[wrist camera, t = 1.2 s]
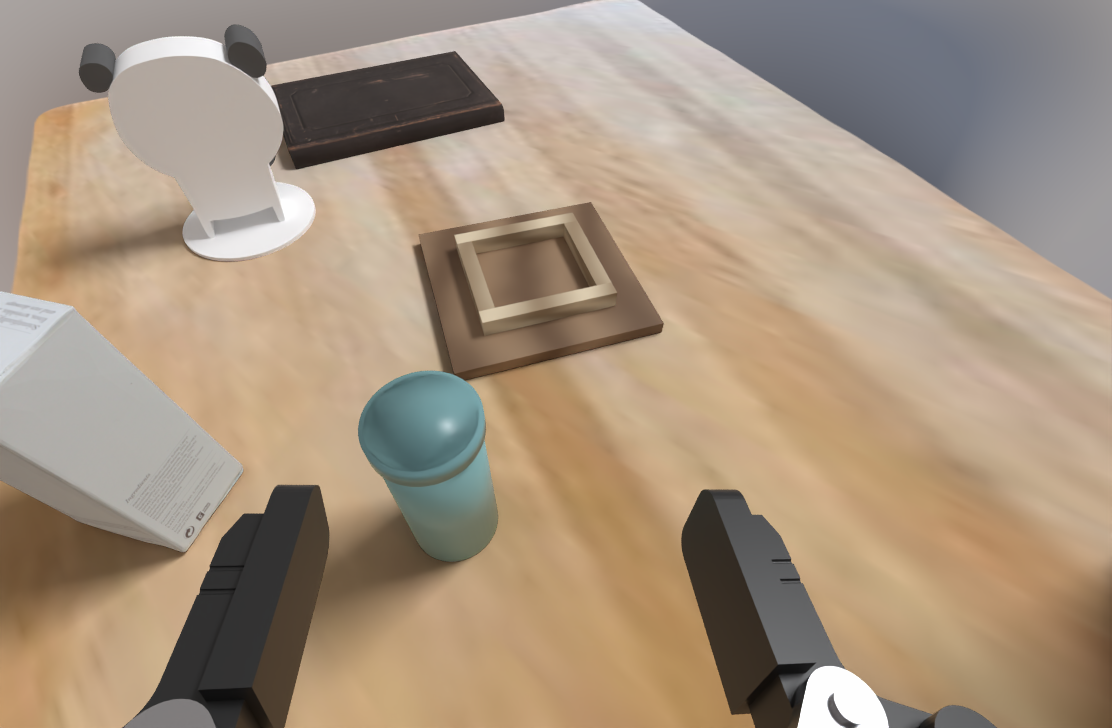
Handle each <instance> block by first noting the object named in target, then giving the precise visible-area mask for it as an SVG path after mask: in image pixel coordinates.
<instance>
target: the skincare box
mask: <svg viewBox="0 0 1112 728" xmlns="http://www.w3.org/2000/svg"><path fill="white" fill-rule="evenodd" d="M242 472H243V466H242V464H241V463H239V462H238V461H237V460H236V459H235V458H234V457H233V456H232V455H231V454H230V453H228V452H227V451H226V450H225V449H224V448H223V447H222V446H221V445H220V444H219V443H218V442H217V441H216V440H214V439H213V438H212V437H211V436H210V435H209V434H208V433H207V432H206V431H205V430H204V429H202V428H201V427H200V426H199V425H198V424H197V423H196V422H195V421H194V420H193V419H192V418H191V417H190V416H189V415H188V414H187V413H186V412H185V411H183V410H182V409H181V408H180V407H179V406H178V405H177V404H176V403H175V402H174V401H173V400H171V399H170V398H169V397H168V396H167V395H166V394H165V393H164V392H163V391H162V390H161V389H159V388H158V387H157V386H156V385H155V384H154V383H153V382H152V381H151V380H150V379H149V378H148V377H146V376H145V375H144V374H143V373H142V372H141V371H140V370H139V369H138V368H137V367H136V366H134V365H133V364H132V363H131V362H130V361H129V360H128V359H127V358H126V357H125V356H124V355H123V354H122V353H120V352H119V351H118V350H117V349H116V348H115V347H114V346H113V345H112V344H111V343H110V342H109V341H108V340H107V339H105V338H104V337H103V336H102V335H101V334H100V333H99V332H98V331H97V330H96V329H95V328H94V327H93V326H92V325H91V324H90V323H89V322H88V321H86V320H85V319H84V318H83V317H82V316H81V315H80V314H79V313H78V312H77V311H76V310H75V308H74V307H72V306H68V305H64V304H60V303H55V302H50V301H45V300H40V299H35V298H30V297H26V296H20V295H15V294H11V293H6V292H1V291H0V480H1V481H3V482H5V483H7V484H8V485H10V486H12V487H14V488H16V489H18V490H20V491H22V492H24V493H26V494H27V495H29V496H31V497H33V498H35V499H37V500H39V501H41V502H43V503H45V504H46V505H48V506H50V507H52V508H54V509H56V510H58V511H60V512H62V513H64V514H65V515H67V516H69V517H71V518H73V519H74V520H76V521H78V522H81V523H84V524H87V525H90V526H93V527H97V528H100V529H103V530H106V531H110V532H113V533H116V534H120V535H123V536H127V537H130V538H133V539H137V540H140V541H144V542H148V543H152V544H157V545H162V546H165V547H168V548H171V549H174V550H177V551H180V552H185V551H187V550H188V548H189V547H190V546H191V544H192V543H193V542H194V540H195V539H196V537H197V536H198V534H199V533H200V531H201V529H202V528H203V526H204V525H205V524H206V522H207V521H208V519H209V518H210V517H211V515H212V514H213V513H214V511H215V510H216V508H217V507H218V506H219V505H220V503H221V502H222V501H223V499H224V498H225V497H226V495H227V494H228V492H229V491H230V490H231V488H232V486H233V485H234V484H235V482H236V481H237V479H238V478H239V477H240V475H241V474H242Z"/></svg>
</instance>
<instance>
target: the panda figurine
mask: <svg viewBox="0 0 1112 728" xmlns="http://www.w3.org/2000/svg"><path fill="white" fill-rule="evenodd" d="M225 44H226V45H224V44H221V43H219V42H217V41H214V40H211V39H207V38H201V37H188V36H177V37H165V38H159V39H154V40H150V41H146V42H143V43H139V44H137V45H134V46H132V47H130V48H128V49H126V50H125V51H124V52H123V53H122V54H121V55H120V56H119V57H118V58H117V60H116V61H115V54H114V52H113V51H112V50H111V49H110V48H109V47H107V46H105V45H103V44H96V43H95V44H89V45H87V46H86V47H85V48H84V50H83V55H82V59H81V64H80V68H79V76H80V78H81V81H82V82H83V84H84V85H85V86H86V87H87V89H89V90H90V91H93V92H97V93H101V92H105V91H107V90H108V89H109V91H108V100H109V107H110V112H111V115H112V119H113V122H114V125H115V127H116V130H117V132H118V134H119V136H120V137H121V139H122V141H123V142H124V144H125V145H126V146H127V147H128V149H129V150H130V151H131V152H132V153H133V154H134V155H135V156H136V157H137V158H139V159H140V160H141V161H142V162H144V163H145V164H146V165H148V166H149V167H151V168H153V169H154V170H156V171H158V172H160V173H163V174H165V175H168V176H171V177H174V178H175V179H176V181H177V183H178V184H179V186H180V188H181V189H182V191H183V192H184V194H185V196H186V197H187V199H188V201H189V202H190V204H191V206H192V207H193V209H194V210H193V211H192V213H191V214H190V215H189V216H188V218H187V219H186V221H185V223H184V226H183V238H184V241H185V243H186V244H187V246H188V247H189V248H190V249H191V250H192V251H193V252H194V253H196V254H197V255H199V256H201V257H204V258H207V259H211V260H216V261H243V260H250V259H254V258H259V257H262V256H266V255H269V254H271V253H274V252H276V251H279V250H281V249H283V248H285V247H286V246H288V245H290V244H292V243H293V242H295V241H296V240H297V239H299V238H300V237H301V236H302V235H303V234H304V233H305V232H306V231H307V230H308V229H309V227H310V226H311V224H312V223H313V220H314V218H315V213H316V210H315V205H314V202H313V200H312V198H311V196H310V195H309V194H308V193H307V192H306V191H304V190H303V189H301V188H299V187H297V186H294V185H291V184H286V183H280V182H275V179H274V177H273V174H272V171H271V168H270V166H271V165H272V164H273V162H274V160H275V157H276V153H277V152H278V150H279V147H280V145H281V141H282V136H283V121H282V118H281V114H280V110H279V106H278V103H277V99H276V96H275V94H274V92H273V90H272V88H271V86H270V84H269V82H268V81H267V80H266V78H265V77H264V76H263V75H264V74H265V72H266V61H265V57H264V53H263V50H262V45H261V43H260V41H259V40H258V38H257V36H256V35H255V34H254V33H253V32H252V31H251V30H250V29H248V28H246V27H244V26H241V25H231V26H229V27H228V28H227V30H226V32H225Z"/></svg>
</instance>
